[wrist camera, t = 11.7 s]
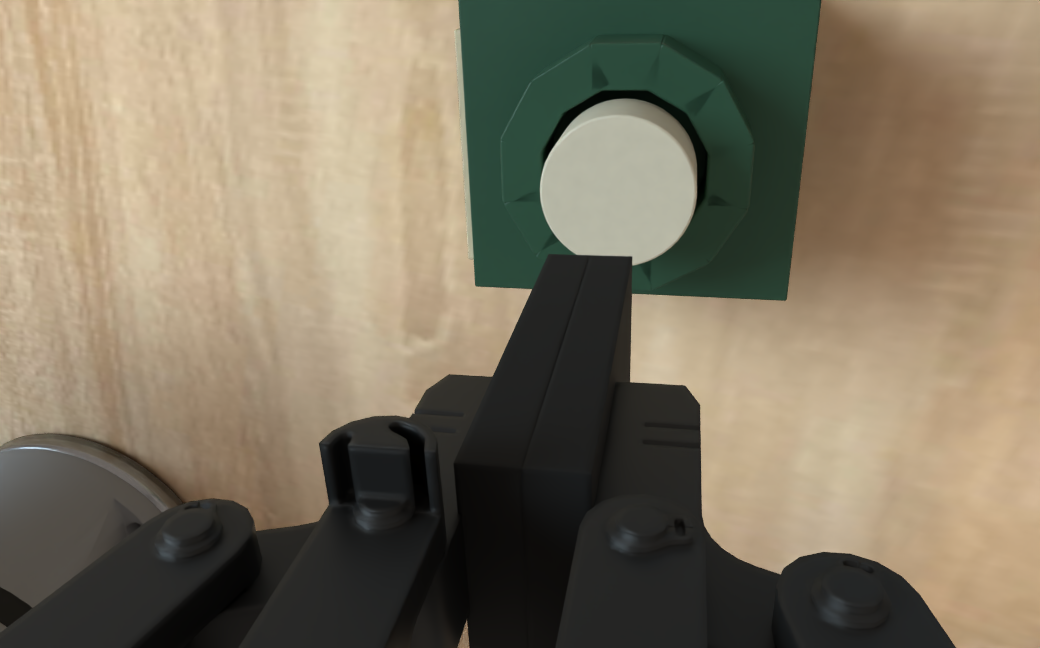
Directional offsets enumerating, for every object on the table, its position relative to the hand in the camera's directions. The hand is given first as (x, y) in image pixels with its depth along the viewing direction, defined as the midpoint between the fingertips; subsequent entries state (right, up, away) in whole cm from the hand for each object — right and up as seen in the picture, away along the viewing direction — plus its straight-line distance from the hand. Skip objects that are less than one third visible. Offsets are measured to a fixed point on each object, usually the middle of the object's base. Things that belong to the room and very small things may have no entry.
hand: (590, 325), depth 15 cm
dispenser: (+3, +8, +16) cm, 19 cm away
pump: (+2, +4, +8) cm, 9 cm away
